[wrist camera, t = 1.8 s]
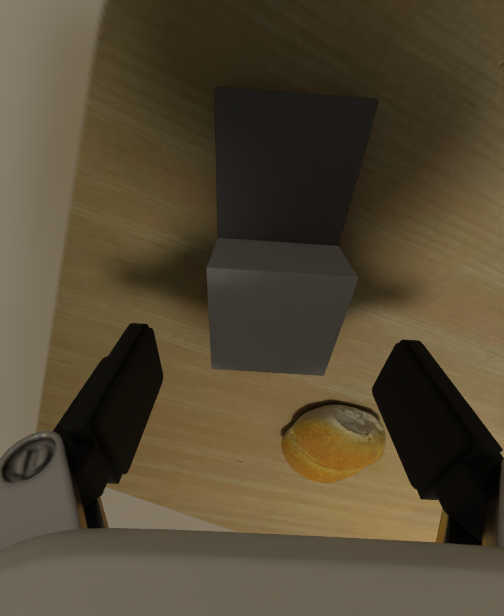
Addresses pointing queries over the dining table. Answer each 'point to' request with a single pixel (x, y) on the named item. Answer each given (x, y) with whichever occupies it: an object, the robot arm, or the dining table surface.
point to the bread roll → (333, 443)
